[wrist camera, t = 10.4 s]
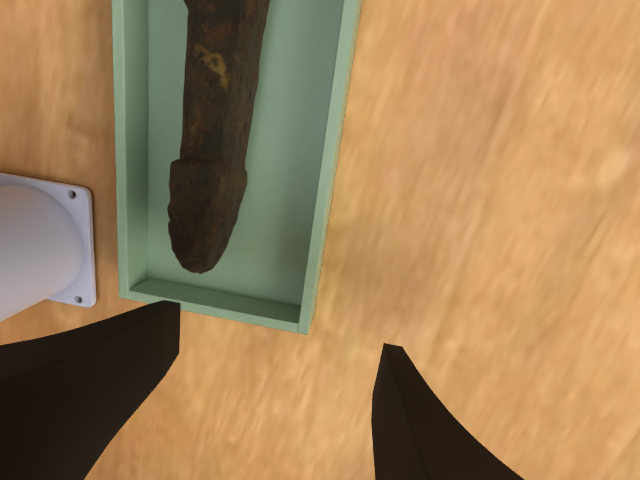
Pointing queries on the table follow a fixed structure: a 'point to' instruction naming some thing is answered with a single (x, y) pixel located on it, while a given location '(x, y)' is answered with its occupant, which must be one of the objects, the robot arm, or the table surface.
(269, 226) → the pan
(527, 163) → the table surface
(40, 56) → the table surface
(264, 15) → the hand tool
